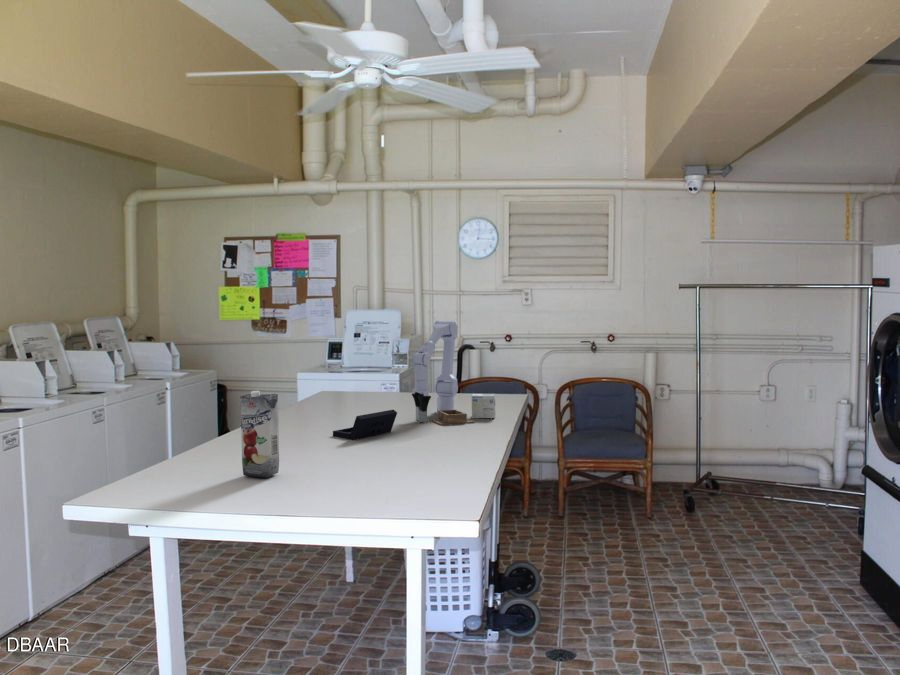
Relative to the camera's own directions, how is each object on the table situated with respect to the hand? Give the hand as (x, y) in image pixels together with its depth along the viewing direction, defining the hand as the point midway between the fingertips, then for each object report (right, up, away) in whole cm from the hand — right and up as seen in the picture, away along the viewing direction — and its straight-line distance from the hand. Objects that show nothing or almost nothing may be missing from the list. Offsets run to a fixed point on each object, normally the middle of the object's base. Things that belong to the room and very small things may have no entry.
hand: (421, 410), depth 327 cm
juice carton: (-48, -12, -93) cm, 105 cm away
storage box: (-22, -8, -28) cm, 36 cm away
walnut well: (+14, -5, +1) cm, 15 cm away
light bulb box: (+28, -5, +11) cm, 31 cm away
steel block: (0, -5, 0) cm, 5 cm away
